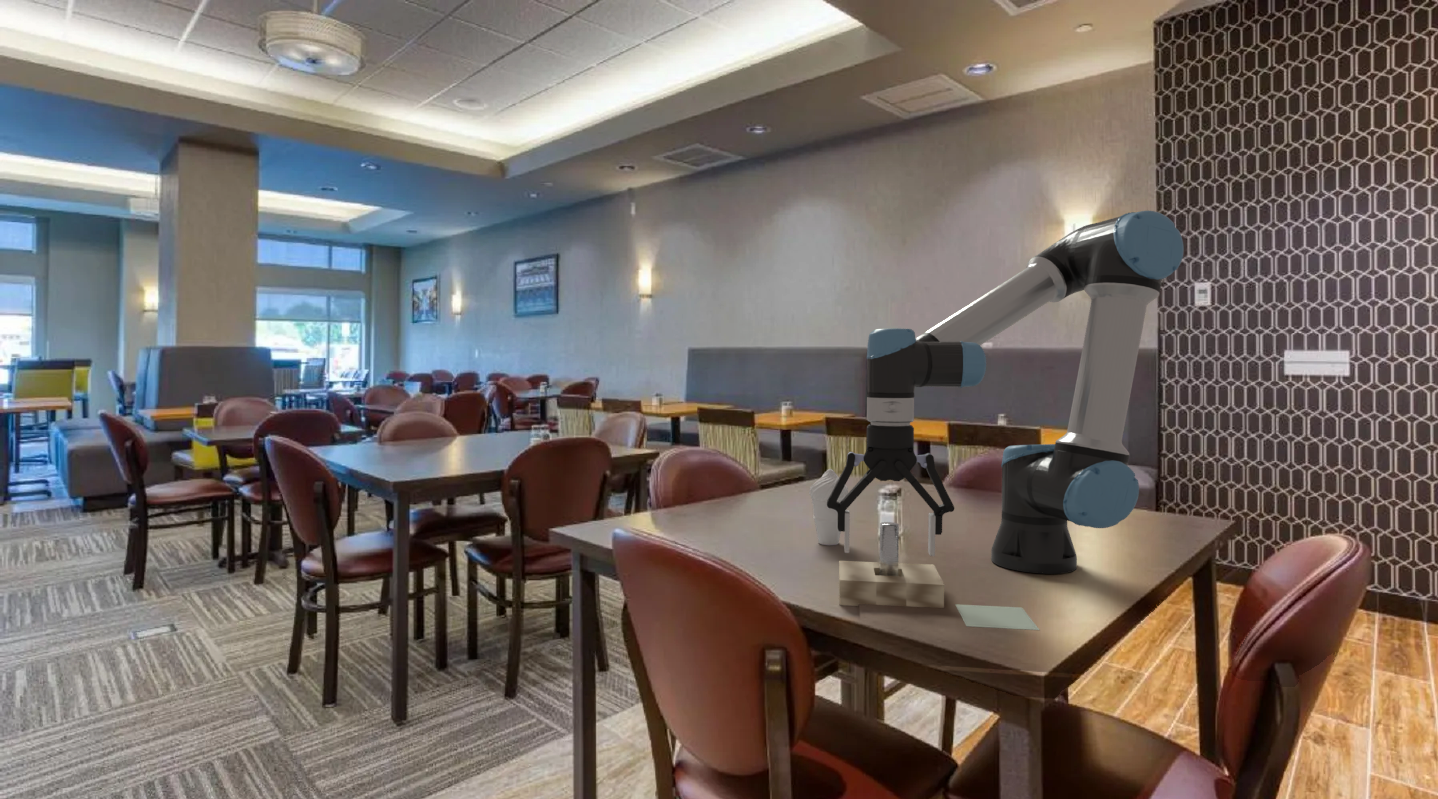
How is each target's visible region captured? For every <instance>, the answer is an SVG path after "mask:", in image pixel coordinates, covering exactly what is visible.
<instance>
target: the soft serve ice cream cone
mask: <svg viewBox="0 0 1438 799" xmlns="http://www.w3.org/2000/svg"><path fill="white" fill-rule="evenodd" d="M839 477H840V476H839V475H838V474H837V473H836V472H835V470H833V469H832V468H829V469H826V471H824V473H823V474H822V476H821V477H820V478H819V479H817V480H816V481H815V482H814V483H813V484H811V485H810V487H809V492H808V493H809V496H810V498H811V504H812V510H813V511H812V514H813V516H812V519H813V521H814V526H815V531H816V536H817V542H818V544H819V545H823V546H837V545H839V543H840V538H841V533H842V531H839V530H838V513H837V511H836V510H834V509H831V508H828V507H827V500H828V498H829V496H830V495H831V493H832V491H833V489H834V487H835V485H836V483H837V481H838V479H839ZM848 493H849V488H848V486H847V485H846V484H845V486H844V488H843V490H842V492H841V494H840V496H839V498H838V500H837V502H841V501H842V500H843V499H844V497H845V496H846V495H847V494H848Z"/></svg>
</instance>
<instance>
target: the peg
mask: <svg viewBox="0 0 1438 799" xmlns="http://www.w3.org/2000/svg"><path fill="white" fill-rule="evenodd" d="M899 528H900V524H899V523H898V522H893V521H884V522H880V523H879V562H880V576H898V563H899V544H900V543H899V542H900V540H899V538H900V537H899V536H900V534H899V533H900V532H899V531H900V529H899Z"/></svg>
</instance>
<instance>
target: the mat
mask: <svg viewBox="0 0 1438 799" xmlns="http://www.w3.org/2000/svg"><path fill="white" fill-rule="evenodd" d="M954 605H955V606H956V609H957V611H958V613H959V614H960V617H961V619H962V621H963V622H964V625H965V626H966V628H967V627H973V628H991V629H1008V630H1024V631H1026V630H1027V631H1029V630H1030V631H1040V628H1039V627H1038V626H1037V624H1036V623H1035V622H1034V621H1033V619H1032V618H1031V616H1030V615H1029V614H1028V613H1027V612H1026V611H1025V609H1024V608H1023V607H1019V606H1016V607H1015V606H999V605H978V604H976V605H973V604H958V603H957V604H954Z"/></svg>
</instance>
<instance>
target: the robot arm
mask: <svg viewBox="0 0 1438 799" xmlns="http://www.w3.org/2000/svg"><path fill="white" fill-rule="evenodd" d="M1184 249H1185V248H1184V241H1183V237H1182V235H1181V232H1180V230H1179V229H1178V228H1177V227H1176V226H1175V223H1174V222H1173V220H1171V219H1170V218H1169V217H1168V216H1167V215H1165V214H1163V213H1161V212H1159V211H1155V210H1140V211H1137V212H1134V211H1133V212H1128V213H1124V214H1122V215H1120V216H1117V217H1113V218H1110V219H1106V220H1102V221H1099V222H1095V223H1090V224H1086V225H1083V226H1082V227H1079V228H1077V229H1075V230H1073V231H1072V232H1070V233H1068V234H1066V235H1065V236H1064V237H1061V238H1060V239H1059V240H1058V241H1056V242H1055V243H1053V244H1051V245H1050V246H1049V247H1047V248H1046V249H1044V250H1043V251H1042V252H1040V253H1038V254H1037V255H1034V256H1033V257H1031V259H1029V260H1028V261H1027V263H1026V265H1025V266H1026V267H1025V268H1024V269H1023V270H1021V271H1020V272H1018V273H1017V274H1015V275H1013V276H1012V277H1010V278H1009V279H1007V280H1006V281H1004V282H1002V283H1000V284H999V285H998V286H996V287H994V288H992V289H991V290H989V291H988V292H986V293H985V294H984V295H982V296H980V297H979V298H977V299H975V300H973V301H972V302H971V303H969V304H968V305H966V306H964V307H962V308H961V309H960V310H958V311H957V312H955V313H953V314H952V315H949V317H947V318H945V319H944V320H942V321H941V322H939V323H937V324H936V325H934V326H932V327H931V328H930V329H928V330H927V331H924V333H922V334H920V335H918V336H917V337H916V333H915V331H914V329H911V328H901V327H898V328H876V329H874V330H871V332H870V333H869V335H868V340H867V341H868V342H867V350H866V351H867V353H866V360H867V362H866V366H867V367H866V373H867V376H866V377H867V395H866V420H867V422H870V423H869V424H868V425H867V426H866V449H865V450H866V451H865V453H864V454H863V453H855V452H854V451H849V452H847V455H846V463H845V466H844V468H843V470H842V472H841V473H840V476H838V477H839V479H838V481H837V483H836V485H835V487H834V489H833V491H832V493H831V495H830V496H829V498H828V500H827V507H828V508H831V509H834V510H836V511H837V513H838V530H839V531H841V532H844V545H843V547H844V553H845V554H850V522H851V521H850V520H851V519H850V517H851V516H850V515H851V514H850V512H851V511H850V510H849V509H848V508H849V507H850V506H851V505H852V503H853V502H854V501H855V500H856V499H857V498H858V497H859V496H860V495H861V494H862V492H864V491H865V489H866V488H867V487H868V486H869V485H870V484H871V483H872V482H873V481H874V480H875V479H876V480H879V481H880V482H886V481H889V480H890V481H893V482H901V481H903V480H904V479H905V480H906V481H907V482H908V483H909V485H911V487H913V489H914V490H915V491H916V492H917V494H918V495H919V496H920V497H921V498H922V499H923V501H924V502H925V503H926V504H927V505H928V506H929V508H930V509H931V510H932V512H928V522H927V523H928V525H927V526H928V529H927V530H928V531H927V532H928V533H927V553H928V555H929V556H930V557H936V536H937V535H938V536H940V535H942V533H943V517H944V515H945V514H946V513H952V512H954V511H955V506H954V504H953V501H952V500H951V498H950V496H949V494H948V491H947V489H946V487H945V486H944V483H943V482H942V478H940V476H939V473H938V471H937V470H936V464H935V457H934V456H933V454H932V453H930V452H927V453H924V454H919V455H918V454H917V455H916V453H915V450H914V449H915V447H914V446H915V443H914V440H915V439H914V437H915V427H913V425H912V424H911V423H913V422H914V421H915V388H924V387H925V388H926V387H928V388H929V387H930V388H932V387H933V388H959V389H962V388H965V387H966V388H967V387H975V386H978V385H979V384H980V383H981V382H982V381H983V379H984V377H985V374H986V372H987V357H986V353H985V351H984V348H983V347H982V345H983V344H985V343H986V342H988V341H989V340H991V339H993V338H994V337H996V336H998V335H1000V333H1002V332H1004V331H1006V329H1008V328H1010V327H1012V326H1013V325H1014V324H1016V323H1018V322H1019V321H1021V320H1022V319H1024V318H1025V317H1027V316H1029V315H1031V314H1032V313H1033V312H1035V311H1037V310H1038V309H1040V308H1041V307H1043V306H1044V305H1046V304H1048V303H1049V302H1050V303H1060V302H1061V301H1062V300H1064V299H1065V298H1067V297H1069V296H1071V295H1073V294H1076V293H1078V292H1081V291H1084V292H1085V293H1086V294H1087V295H1088V297H1089V298H1090V300H1091V301H1090V307H1089V312H1088V318H1087V323H1086V328H1085V334H1084V337H1083V338H1084V340H1083V343H1082V344H1083V345H1082V350H1081V353H1080V354H1081V355H1080V361H1079V365H1078V372H1077V375H1076V376H1077V377H1076V382H1075V386H1074V388H1075V389H1074V393H1073V396H1072V404H1071V408H1070V414H1069V419H1068V425H1067V430H1066V433H1064V435H1062V436H1061V437H1059V438H1058V439H1056V440H1055V443H1054V444H1053V443H1047V444H1017V445H1015V444H1014V445H1008V446H1007V447H1005V449H1004V450H1003V453H1002V459H1001V465H1000V466H1001V521H1000V523H999V524H1000V525H999V527H998V530H997V531H996V532H997V533H996V535H995V539H994V540H993V544H992V546H991V551H990V552H991V553H990V556H991V557H990V559H991V562H992V563H994V564H995V565H997V566H999V567H1003V568H1005V569H1008V570H1013V571H1018V572H1023V573H1031V574H1032V573H1033V574H1045V575H1046V574H1047V575H1048V574H1049V575H1053V574H1055V575H1056V574H1057V575H1058V574H1066V573H1071V572H1074V571H1076V570H1077V567H1078V566H1077V564H1078V559H1077V557H1078V556H1077V552H1076V550H1075V546H1074V543H1073V540H1072V537H1071V535H1070V531H1069V527H1068V522H1071V523H1074V524H1075V525H1077V526H1080V527H1081V526H1082V527H1085V528H1089V527H1090V528H1094V529H1106V528H1107V529H1108V528H1112V527H1115V526H1116V525H1118V524H1119V523H1121V521H1123V520H1125V519H1127V517H1129V515H1130V514H1132V512H1133V511H1134V509H1135V507H1136V505H1137V502H1138V499H1139V495H1140V484H1139V480H1138V478H1136V477H1135V476H1136V474H1135V472H1134V471H1133V469H1132V468H1131V467H1130V466H1129V459H1130V452H1129V451H1128V450H1127V448H1126V447H1125V446H1124V444H1123V442H1122V441H1123V436H1124V432H1125V431H1124V430H1125V425H1126V421H1127V414H1128V410H1129V403H1130V399H1131V398H1130V397H1131V392H1132V387H1133V381H1134V378H1135V372H1136V367H1137V360H1138V356H1139V350H1140V344H1141V341H1142V340H1141V339H1142V333H1143V329H1144V322H1145V317H1146V312H1147V306H1148V304H1150V303H1151V302H1152V301H1154V300H1155V299H1157V298H1158V297H1160V294H1161V293H1160V292H1161V287H1162V282H1163V280H1165V279H1166V278H1167V277H1169V276H1171V275H1172V274H1173V273H1174V272H1176V271H1177V270H1178V269H1179V267H1180V265H1181V263H1182V261H1183V258H1184V251H1185V250H1184ZM861 462H864V465H865V466H866V467H867V468H868V470H867V471H866V472H865V474H863V476H862V477H861V478H860V480H859V481H858V482H857V483H856V484H855V485H854V486H853V487H852V488H851V489H850V490H849V491H848V494H847V495H846V496H845V497H844V499H843V500H842V501H841V502H837V500H838V498H839V496H840V494H841V492H842V490H843V488H844V486H845V485H846V484H847V482H848V480H849V479H850V477H851V475H852V473H853V470H854V468H856V467H858V466H859V465H860V464H861ZM917 463H919V465H920V467H921V468H924V469H926V472H927V474H928V476H929V478H930V480H931V482H932V484H933V486H934V488H935V490H936V491H937V494H938V497H939V498H940V500H941V501H942V504H938V503H937V502H936V501H935V499H934V498H933V497H932V496H931V494H930V493H929V492H928V491H927V490H926V489H925V488H924V486H923V485H922V484H921V483H920V482H919V480H918V478H916V476H914V474H913V473H912V472H911V470H912V469H913V468H914V467H915V465H916V464H917ZM847 509H848V510H847Z"/></svg>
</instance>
